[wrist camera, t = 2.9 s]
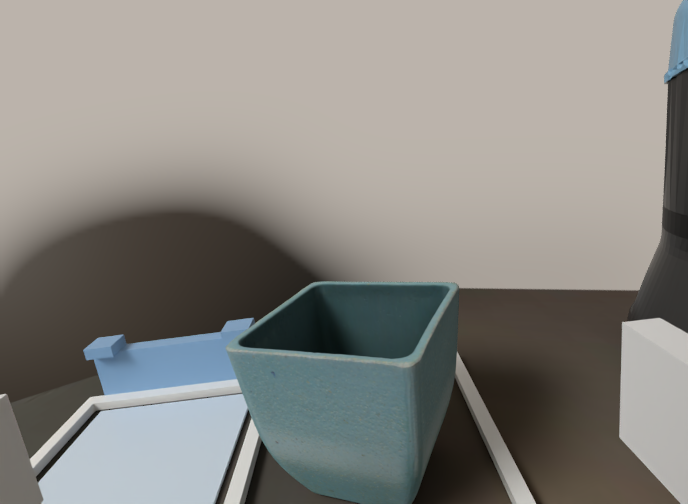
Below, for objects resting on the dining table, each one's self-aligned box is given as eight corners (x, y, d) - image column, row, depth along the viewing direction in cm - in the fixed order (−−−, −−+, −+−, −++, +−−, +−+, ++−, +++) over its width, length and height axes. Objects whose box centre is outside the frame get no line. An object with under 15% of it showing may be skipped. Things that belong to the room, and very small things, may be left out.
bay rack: (453, 351, 34) (449, 292, 33) (557, 556, 18) (555, 453, 16) (100, 395, 35) (83, 339, 34) (-119, 629, 19) (-168, 536, 17)
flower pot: (334, 408, 29) (312, 278, 27) (472, 428, 26) (461, 280, 23) (257, 514, 22) (218, 347, 19) (438, 565, 18) (416, 365, 16)
